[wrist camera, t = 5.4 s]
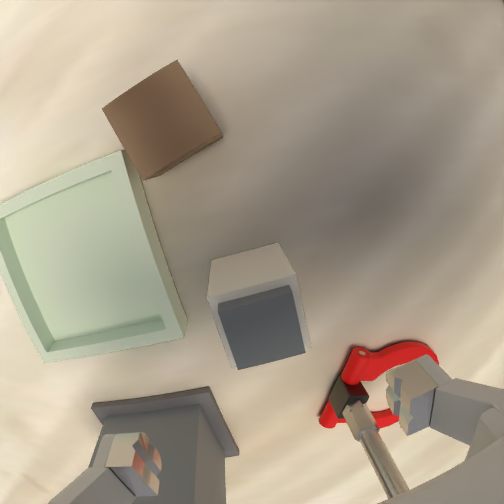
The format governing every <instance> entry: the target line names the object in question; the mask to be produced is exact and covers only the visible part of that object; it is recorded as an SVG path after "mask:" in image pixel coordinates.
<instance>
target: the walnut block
mask: <svg viewBox="0 0 504 504" xmlns="http://www.w3.org/2000/svg"><path fill="white" fill-rule="evenodd" d="M102 110H103V112H104V113H105V115H106V117H107V119H108V121H109V122H110V124H111V126H112V128H113V129H114V131H115V133H116V135H117V136H118V138H119V140H120V142H121V143H122V145H123V147H124V149H125V150H126V152H127V154H128V155H129V157H130V159H131V161H132V162H133V164H134V166H135V167H136V169H137V171H138V172H139V174H140V176H141V177H142V179H143V181H144V180H147V179H150V178H153V177H156V176H159V175H162V174H163V173H165V172H166V171H168V170H169V169H171V168H173V167H174V166H176V165H177V164H179V163H181V162H182V161H184V160H186V159H187V158H189V157H190V156H192V155H194V154H195V153H197V152H199V151H200V150H202V149H204V148H206V147H207V146H209V145H211V144H212V143H214V142H216V141H218V140H219V139H221V138H223V136H222V133H221V131H220V129H219V128H218V126H217V124H216V122H215V121H214V119H213V117H212V116H211V114H210V112H209V111H208V109H207V107H206V106H205V104H204V103H203V101H202V99H201V98H200V96H199V94H198V93H197V91H196V89H195V88H194V86H193V84H192V83H191V81H190V80H189V78H188V76H187V75H186V73H185V71H184V70H183V68H182V67H181V65H180V63H179V62H178V60H176V61H174V62H172V63H170V64H169V65H167V66H165V67H164V68H162V69H160V70H159V71H157V72H155V73H154V74H152V75H151V76H149V77H147V78H146V79H144V80H143V81H141V82H140V83H138V84H137V85H135V86H134V87H132V88H131V89H129V90H128V91H126V92H125V93H123V94H122V95H120V96H119V97H117V98H116V99H115V100H113V101H112V102H110V103H109V104H108V105H106V106H105V107H104V108H102Z"/></svg>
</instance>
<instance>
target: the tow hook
mask: <svg viewBox="0 0 504 504" xmlns="http://www.w3.org/2000/svg"><path fill="white" fill-rule="evenodd" d="M426 354H427V355H429V356H430V357H431V358H432V359H433V360H434V361H435V362H436V363H437V364H438V365H439V362H438V359H437V356H436V354H435V353H434V352H433V351H432V350H431V349H430V348H429V347H428V346H427V345H425V344H423V343H420V342H414V341H406V342H402V343H398V344H394V345H392V346H390V347H387V348H385V349H383V350H381V351H379V352H378V353H375V352H369V351H368V350H366V349H364V348H361V347H354V348H353V350H352V352H351V354H350V357H349V359H348V361H347V363H346V365H345V367H344V370H343V372H342V374H340V375H339V377H338V379H337V381H336V383H335V385H334V387H333V389H332V391H331V393H330V395H329V400H328V402H327V404H326V406H325V408H324V410H323V412H322V414H321V416H320V418H319V423H320V424H321V425H322V426H323V427H325V428H333V427H335V425H336V424H337V423H347V424H348V426H349V428H350V430H351V432H352V434H353V436H354V438H355V440H357V441H359V442H361V444H362V446H363V448H364V450H365V452H366V454H367V456H368V458H369V460H370V462H371V464H372V466H373V468H374V470H375V473H376V475H377V477H378V479H379V481H380V483H381V485H382V487H383V489H384V491H385V493H386V495H387V497H388V499H390V498H392V497H395V496H397V495H400V494H402V493H404V492H406V491H408V490H409V488H408V486H407V484H406V482H405V480H404V479H403V477H402V475H401V473H400V471H399V469H398V468H397V466H396V464H395V462H394V460H393V458H392V457H391V455H390V453H389V451H388V449H387V448H386V446H385V444H384V442H383V440H382V439H381V437H380V435H379V433H378V432H379V430H380V428H383V427H386V426H390V425H392V424H394V423H396V422H398V421H399V416H396V415H394V414H393V413H392V411H391V410H390V409H388V410H386V411H382V412H377V413H371V412H370V411H369V409H368V407H367V405H366V402H367V400H368V398H369V395H368V393H367V392H366V390H365V388H364V387H363V385H362V383H361V382H360V381H373V380H375V379H376V378H377V377H378V376H379V375H381V374H382V373H384V372H385V371H387V370H388V369H391V368H393V367H395V366H397V365H401V364H404V363H408V362H410V361H413V360H415V359H417V358H419V357H421V356H423V355H426Z"/></svg>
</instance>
